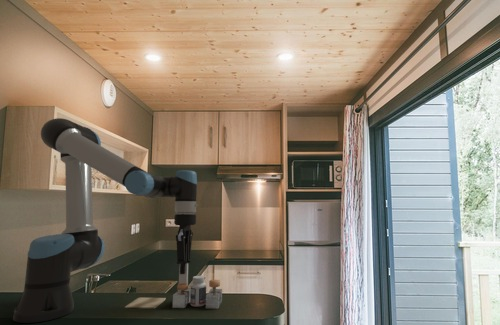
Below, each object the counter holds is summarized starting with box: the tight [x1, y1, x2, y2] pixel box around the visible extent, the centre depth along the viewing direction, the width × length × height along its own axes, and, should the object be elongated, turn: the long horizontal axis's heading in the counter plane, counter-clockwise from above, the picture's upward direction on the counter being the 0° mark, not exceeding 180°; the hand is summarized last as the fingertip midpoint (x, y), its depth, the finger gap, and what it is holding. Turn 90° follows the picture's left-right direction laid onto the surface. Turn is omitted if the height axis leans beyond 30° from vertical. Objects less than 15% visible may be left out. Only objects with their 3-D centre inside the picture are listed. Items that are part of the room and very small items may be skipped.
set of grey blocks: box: [172, 287, 223, 310], centre depth 97 cm, size 15×8×4 cm, turn 86°
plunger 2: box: [208, 279, 221, 293], centre depth 97 cm, size 4×4×5 cm
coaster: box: [124, 296, 167, 310], centre depth 98 cm, size 10×10×1 cm
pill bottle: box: [189, 275, 207, 308], centre depth 97 cm, size 5×5×9 cm
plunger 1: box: [176, 282, 189, 292], centre depth 97 cm, size 4×4×5 cm
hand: (183, 283), depth 98 cm, fingers closed
